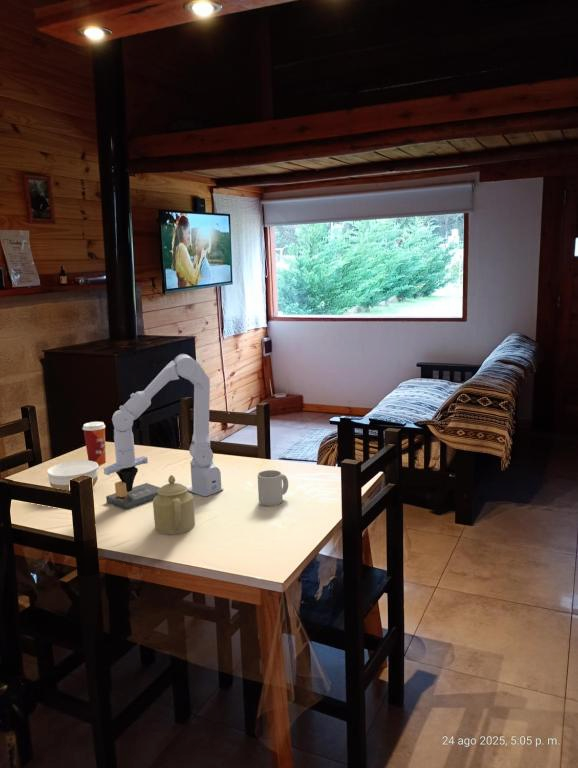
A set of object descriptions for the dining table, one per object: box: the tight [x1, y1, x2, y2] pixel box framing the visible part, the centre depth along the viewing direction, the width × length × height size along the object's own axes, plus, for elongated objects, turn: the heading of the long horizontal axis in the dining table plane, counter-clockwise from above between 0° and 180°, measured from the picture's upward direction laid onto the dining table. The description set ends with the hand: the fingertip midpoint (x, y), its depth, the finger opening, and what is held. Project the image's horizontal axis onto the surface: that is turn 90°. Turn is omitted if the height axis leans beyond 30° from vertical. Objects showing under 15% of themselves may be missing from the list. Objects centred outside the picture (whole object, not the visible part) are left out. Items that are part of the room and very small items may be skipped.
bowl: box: [46, 459, 99, 491], centre depth 208 cm, size 16×16×8 cm
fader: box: [114, 480, 127, 497], centre depth 196 cm, size 3×2×4 cm, turn 48°
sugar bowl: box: [152, 474, 196, 535], centre depth 175 cm, size 15×11×15 cm
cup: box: [257, 469, 289, 507], centre depth 193 cm, size 7×10×9 cm
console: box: [105, 482, 161, 511], centre depth 199 cm, size 10×15×2 cm, turn 138°
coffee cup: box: [81, 421, 107, 466], centre depth 237 cm, size 8×8×15 cm
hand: (128, 490), depth 198 cm, fingers closed
